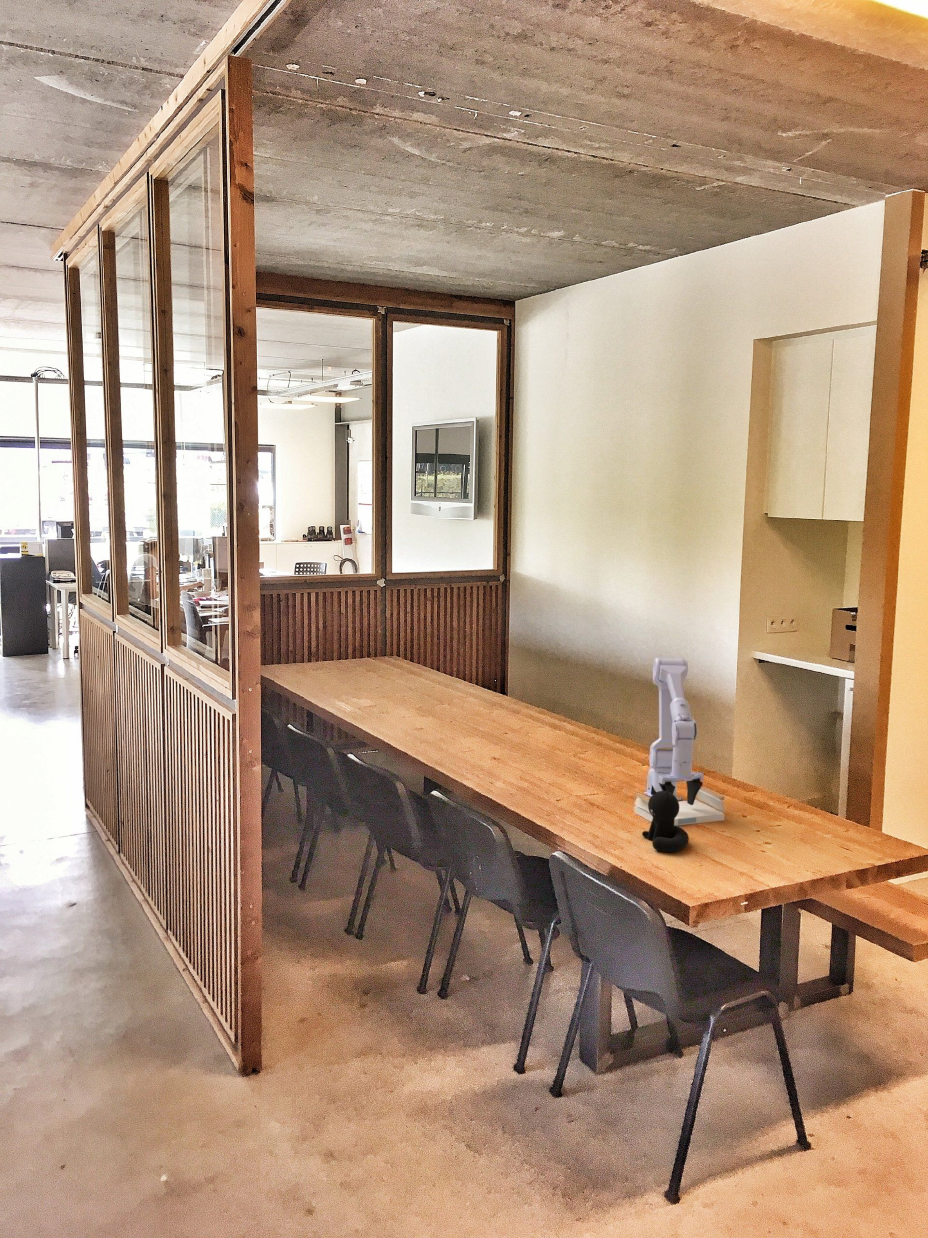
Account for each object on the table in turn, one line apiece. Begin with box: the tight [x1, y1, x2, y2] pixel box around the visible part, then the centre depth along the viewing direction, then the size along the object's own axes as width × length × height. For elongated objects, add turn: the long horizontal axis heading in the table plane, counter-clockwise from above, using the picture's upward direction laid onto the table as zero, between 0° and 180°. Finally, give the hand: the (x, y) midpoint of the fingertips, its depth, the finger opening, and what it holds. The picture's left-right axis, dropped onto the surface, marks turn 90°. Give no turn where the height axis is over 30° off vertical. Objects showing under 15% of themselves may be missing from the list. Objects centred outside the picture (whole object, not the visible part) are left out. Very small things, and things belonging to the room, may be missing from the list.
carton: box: [633, 799, 725, 827], centre depth 300 cm, size 14×22×2 cm, turn 112°
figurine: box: [641, 785, 690, 853], centre depth 276 cm, size 16×14×15 cm
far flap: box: [696, 786, 726, 813], centre depth 304 cm, size 13×4×2 cm
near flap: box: [634, 792, 650, 813], centre depth 296 cm, size 13×4×2 cm
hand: (679, 805), depth 300 cm, fingers open, 7 cm apart
